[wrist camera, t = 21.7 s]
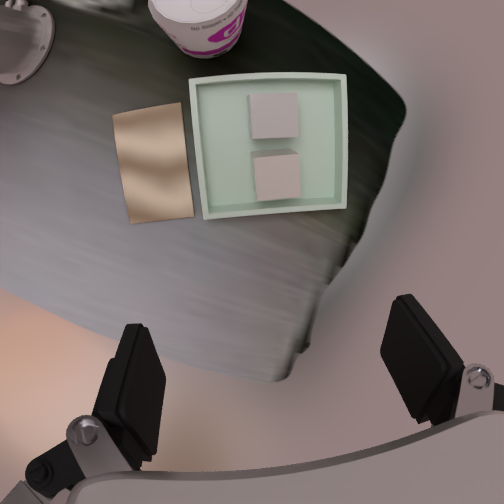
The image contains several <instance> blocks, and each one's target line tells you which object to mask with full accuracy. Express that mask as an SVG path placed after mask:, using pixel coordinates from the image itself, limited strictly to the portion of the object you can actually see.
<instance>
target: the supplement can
mask: <svg viewBox="0 0 504 504" xmlns="http://www.w3.org/2000/svg"><path fill="white" fill-rule="evenodd" d="M246 5H247V0H148V7H149V9H150V12H151V14H152V16H153V19H154V20H155V21H156V22H157V23H158V24H159V25H160V27H161V28H162V29H163V30H164V31H165V32H166V34H167V35H168V36H169V37H170V38H171V39H172V41H173V42H174V43H175V44H176V45H177V46H178V47H179V48H180V49H181V50H182V51H183V52H184V53H185V54H187V55H190V56H192V57H195V58H204V59H208V58H213V57H217V56H220V55H222V54H224V53H226V52H227V51H229V50H230V49H231V48H232V47H233V46H234V45H235V44H236V43H237V41H238V38H239V36H240V34H241V30H242V25H243V20H244V15H245V10H246Z"/></svg>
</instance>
